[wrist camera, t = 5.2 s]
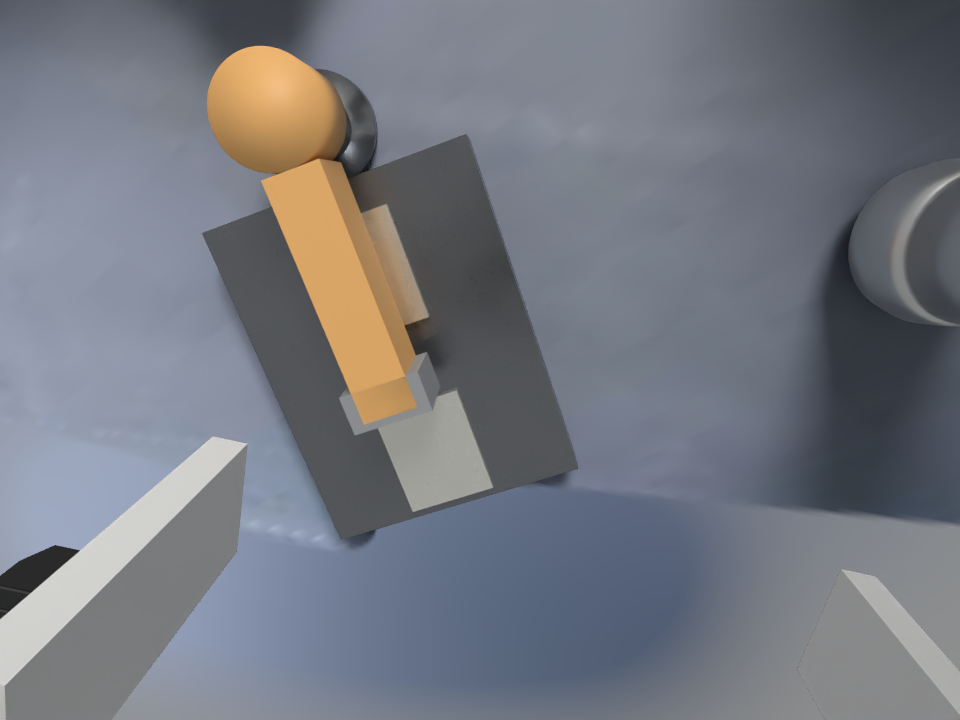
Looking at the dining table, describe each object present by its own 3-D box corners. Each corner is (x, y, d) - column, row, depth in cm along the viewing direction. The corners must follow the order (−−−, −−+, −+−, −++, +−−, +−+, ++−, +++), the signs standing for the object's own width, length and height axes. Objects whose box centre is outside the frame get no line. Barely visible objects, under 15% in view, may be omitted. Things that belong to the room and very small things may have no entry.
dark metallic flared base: (252, 95, 27) (216, 81, 24) (352, 54, 27) (330, 34, 23) (296, 201, 28) (267, 202, 25) (393, 164, 28) (377, 161, 24)
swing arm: (225, 86, 24) (187, 71, 21) (322, 47, 23) (296, 26, 20) (362, 411, 27) (345, 438, 24) (449, 383, 26) (442, 407, 23)
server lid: (227, 229, 29) (197, 233, 26) (469, 138, 28) (465, 132, 25) (353, 514, 33) (338, 544, 30) (572, 447, 31) (579, 472, 28)
